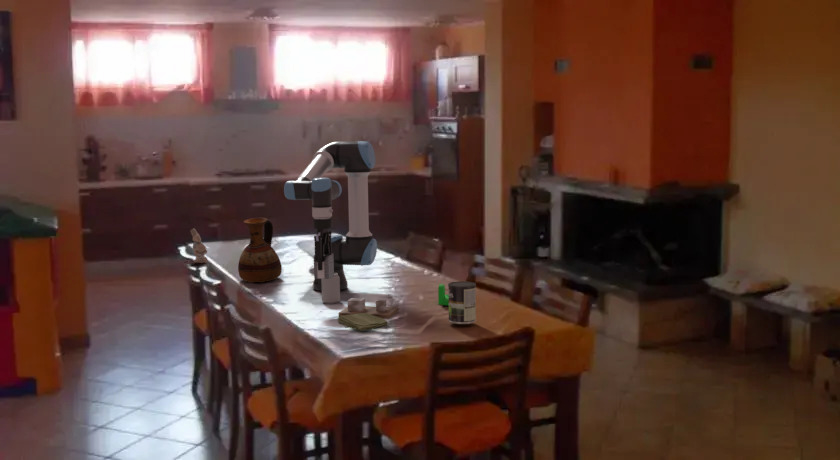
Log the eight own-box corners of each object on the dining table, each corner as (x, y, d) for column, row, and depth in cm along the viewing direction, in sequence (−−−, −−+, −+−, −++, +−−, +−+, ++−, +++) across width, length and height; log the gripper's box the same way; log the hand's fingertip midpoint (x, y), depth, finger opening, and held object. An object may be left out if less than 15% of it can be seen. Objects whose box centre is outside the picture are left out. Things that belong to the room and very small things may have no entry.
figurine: (189, 266, 483) (187, 228, 481) (205, 264, 488) (203, 226, 486) (196, 268, 476) (194, 229, 474) (212, 266, 481) (210, 228, 479)
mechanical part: (453, 305, 378) (453, 285, 377) (438, 305, 379) (438, 285, 378) (456, 299, 389) (456, 280, 388) (442, 299, 390) (442, 280, 389)
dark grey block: (314, 278, 363) (313, 255, 362) (319, 275, 369) (318, 253, 368) (328, 279, 362) (328, 256, 361) (334, 276, 368) (333, 253, 367)
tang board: (338, 316, 358) (338, 302, 358) (349, 309, 372) (349, 295, 371) (388, 318, 354) (388, 304, 353) (398, 311, 367) (398, 297, 366)
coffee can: (450, 324, 342) (449, 286, 341) (446, 318, 353) (446, 281, 351) (478, 323, 343) (477, 285, 342) (474, 317, 353) (473, 280, 352)
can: (343, 300, 389) (342, 272, 387) (335, 304, 382) (335, 275, 380) (326, 300, 391) (325, 271, 390) (318, 303, 384) (318, 274, 382)
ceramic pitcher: (230, 283, 432) (227, 219, 428) (253, 276, 450) (251, 214, 447) (267, 286, 424) (265, 220, 421) (289, 278, 443) (287, 215, 439)
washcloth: (360, 332, 334) (359, 323, 334) (335, 323, 349) (335, 315, 348) (390, 327, 342) (390, 318, 341) (365, 318, 356) (365, 310, 356)
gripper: (323, 221, 352) (325, 281, 356) (339, 215, 371) (341, 272, 374) (304, 220, 354) (306, 280, 357) (321, 214, 372) (323, 272, 376)
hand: (324, 276), depth 366 cm, fingers closed on dark grey block, 6 cm apart
